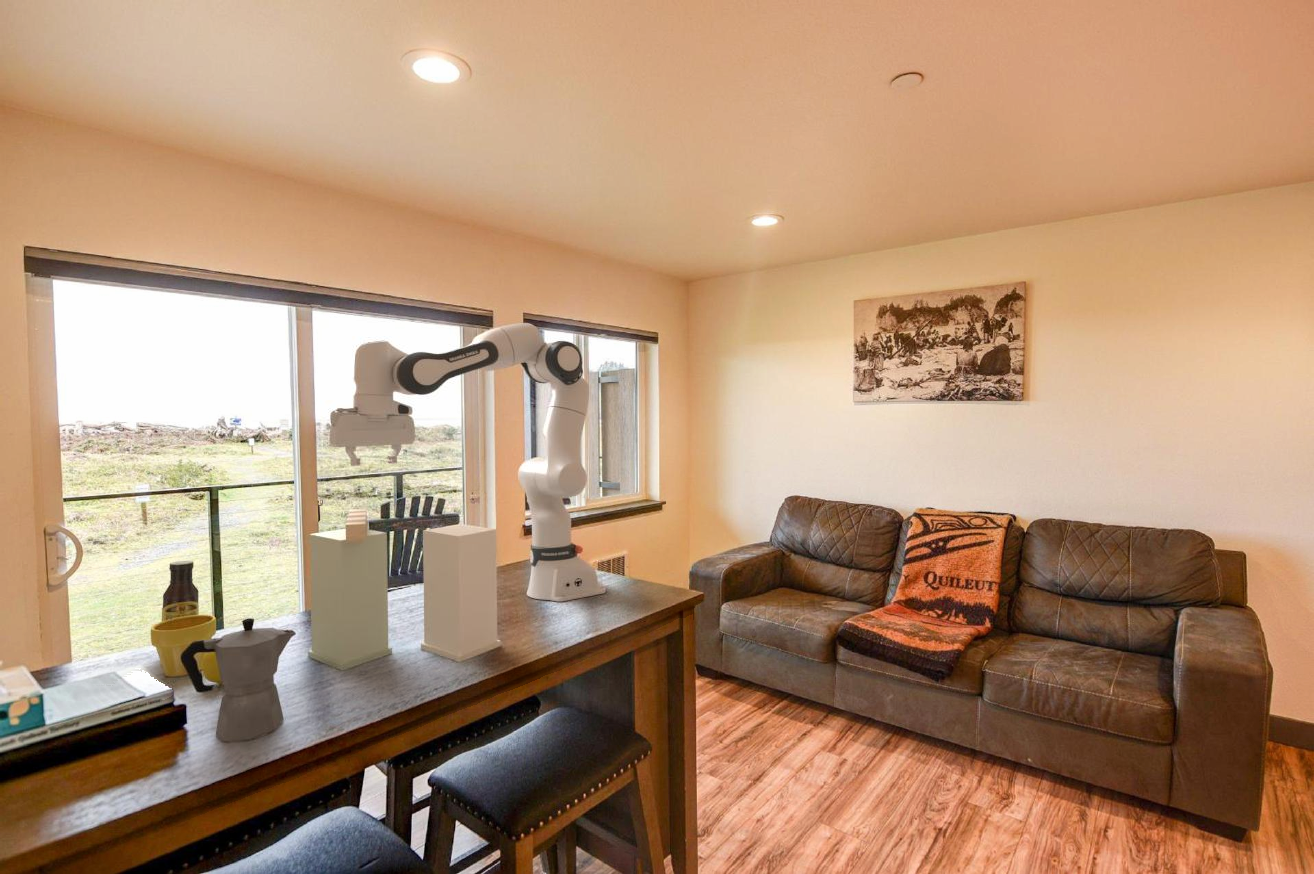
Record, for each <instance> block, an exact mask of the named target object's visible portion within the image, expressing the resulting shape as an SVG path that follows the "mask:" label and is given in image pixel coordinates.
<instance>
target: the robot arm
mask: <svg viewBox="0 0 1314 874" xmlns="http://www.w3.org/2000/svg"><path fill="white" fill-rule="evenodd" d="M352 361H353V362H352V378H353V381H354V390H353V392H352V394H353V395H352V397H353V398H352V399H353V401H352V402H353V403H352V404H353V406H352V407H349V406H348V407H342V406H340V407H339V406H338V407H336V408H335V409H333V410H332V411H331V412H330V421H329V422H330V431H329V440H328V441H329V445H331V446H332V447H333V448H345V453H346V454H347V456H348V457H349V459H350V466H351V467H356V466H357V467H359V466H361V458H360V457H357V455H356V453H355V452H356V451H357V447H371V446H373V447H374V446H375V447H376V446H379V447H380V446H390V447H391V450H392V451H391V452H392V453H391V454H390V456H389V455H387V463H388V464H390V465H391V464H397V463H398V456H399V454H400V452H401V450H402V445H413V443H414V441H416V427H415V421H414V419H413V417H412V416H411V415H412V414H413V407H412V406H410V405H407V404H404V403H401V402H399V401H397V400H394V393H395V392H396V393H399V394H403V395H406V396H409V395H410V396H411V395H413V396H414V395H419V396H420V395H421V396H423V395H429V394H432V393H434V392H436V391H437V390H438V389H439V388H441V386H443V384H444V383H445V382H447V381H448V380H450V379H453V378H455V377H458V376H460V375H464V374H467V373H470V372H473V371H478V370H483V371H486V372H489V371H491V372H492V371H499V370H503V369H507V368H510V367H514V366H516V365H519V364H520V365H521V366H522V367H523V369H524V372H525V374H526V375H527V377H528V378H529V379H530V380H532V381H533V382H536V383H538V384H548V383H549V385H550V388H551V399H550V401H549V406H548V409H547V412H546V417H545V419H544V425H543V429H542V436H543V438H544V439H545V444H546V445H545V446H546V455H545V456H537V457H532V458H530V459H529V458H528V459H526V460H525V461H524V462H522V463H521V465H520V467H518V471H517V479H518V482H519V485H520V486H521V487H522V488H523V491H524V493H525V497H526V499H527V503H528V507H529V511H530V520H531V541H532V543H531V545H530V551H529V552H530V553H529V559H530V561H529V562H530V566H531V568H530V569H531V571H530V577H529V582H528V587H527V591H526V596H528V597H529V598H531V599H536V600H544V601H545V600H547V601H553V602H565V601H570V600H575V599H581V598H586V597H592V596H596V595H601V594H602V595H603V594H605V593H606V592H607V589H606V585H604V583H602V582H600V581H598V580H599V579H598V574H597V571H596V569H595V568H594V567H593V566H592V565H591V564H590V563H588V561H585V560H584V559H583V558H581V557H580V556H579V555H578V554H582V552H584V551H583V550H584V549H583V547H582V546H580V545H577V544H575V543H573V542H572V517H571V515H570V513H569V511H568V510H567V508H566V507H565V504H564V500H563V499H567V498H572V497H575V496H578V495H580V494H581V493H582V492H583V491H584V490H585V488H586V485H587V481H588V478H587V477H588V476H587V472H586V470H585V467H584V466H583V463H582V459H581V441H582V435H583V431H584V426H585V422H586V418H587V413H588V407H589V399H590V385H589V383H588V381H586V379H585V378H583V377H582V376H583V374H584V369H583V356H582V353H581V351H580V349H579V347H578V346H577V345H576V344H574V343H573V342H570V341H566V340H557V341H555V342H554V341H553V342H549V343H547V342H546V341H545V340H543V338H542V335H541V332H540V330H539V329H538V328H537V326H535V325H534V324H532V323H528V322H520V323H511V324H507V325H502V326H498V327H495V328H492V329H489V330H487V331H483V332H482V333H479V334H478V335H476V336H475V337H474V338H473V339H472V342H471V343H470V344H467V345H466V346H462V347H459V348H456V349H452V350H449V351H445V352H441V353H433V352H432V353H431V352H426V351H417V352H412V353H409V354H408V353H406V352H404V351H402V350H400V349H398V348H397V347H395V346H393V344H391V343H390V342H389V341H388V340H371V341H365V342H362V343H360V344H359V345H358V346H356V347H355V349H354V354H353V360H352Z"/></svg>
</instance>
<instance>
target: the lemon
mask: <svg viewBox="0 0 1314 874" xmlns="http://www.w3.org/2000/svg"><path fill="white" fill-rule="evenodd" d="M201 671H202V675H203V676H204V679H206V680H207V681H208V682H210V683H215V684H217V685H219V686H221V685H224V684H223V683H222V682H221V678H220V673H219V668H218V664H217V659H216V654H215V652H207V653H206V654H205V656H204V659H203V665H202V670H201Z"/></svg>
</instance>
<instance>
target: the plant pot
mask: <svg viewBox="0 0 1314 874" xmlns="http://www.w3.org/2000/svg"><path fill="white" fill-rule="evenodd" d="M216 632H217V619H216V617H215V616H214V615H212V614H199V615H191V616H184V617H178V618H173V619H169V620H166V621H162V620H161V621H160V622H157V623H155V624H153V625H152V626H151V628H150V642H151V645H152V647H155V648H156V651H157V655H158V658H159V661H160V664H161V667H162V670H163V674H164V675H165V676H166V677H174V678H176V677H184V676H188V673H187V671H186V669H185V667H184V666H183V664H182V662H181V654H182V652H183V651H184V650H185V649H186V648H187V647H188V646H189V645H190V644H191V643H192V642H194V641H201V640H207V639H213V636H215V635H216V634H217V633H216ZM206 653H207V652H200V653H196V654H195V655H194V658H195V659H196V661H197V664H198V669H199V671H200V672H201V671H203V670H202V665H203V659H204V656H205V654H206Z"/></svg>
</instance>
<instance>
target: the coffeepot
mask: <svg viewBox="0 0 1314 874" xmlns="http://www.w3.org/2000/svg"><path fill="white" fill-rule="evenodd" d="M241 622H242V626H243V629H241V630H239V631H234V632H230V633H227V634H224V635H223V636H220V637H215V638H214V637H212V639H207V640H201V641H194V642H192V643H191V644H190V645H189V646H188V647H187V648H186V649H185V650H184V651H183V652H182V654H181V662H182V664H183V666H184V667H185V669H186V671H187V673H188V675H187V676H188V678H189V679H190V681H191V684H192V686H193V688H194V689H195V691H196V693H208V692H212V690H213V689H214V684H204V680H203V679H204V678H203V673H202V672H201V671H199V669H198V664H197V661H196V659H195V658H194V655H195V654H196V653H200V652H215V654H216V659H217V664H218V668H219V673H220V678H221V682H222V683H223V684H222V685H224V684H225V693H224V694H223V693H222V696H221V702H220V707H219V711H218V712H219V713H218V718H217V724H216V729H215V736H216V737H217V738H218V739H219V740H221V741H223V742H226V743H239V742H246V741H250V740H256V739H258V738H261V737H263V736H266V735H269V734H270V733H272V732H274V731H275V730H277V729H278V728H279V727H280V726H281V724H282V721H284V720H285V718H284V714H283V710H282V705H281V700H280V695H279V693H278V687H277V684H276V683H275V674H276V673H277V671H278V665H279V660H280V657H281V655H282V653H283V651H284V649H286V646H287V645H288V643H289V642H290V641H291V639H292V638H293V637H294V636H296V635H297V633H296V631H294V630H292V629H277V628H274V627H257V628H254V623H255V619H254V618H245V619H243V620H242V621H241Z"/></svg>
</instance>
